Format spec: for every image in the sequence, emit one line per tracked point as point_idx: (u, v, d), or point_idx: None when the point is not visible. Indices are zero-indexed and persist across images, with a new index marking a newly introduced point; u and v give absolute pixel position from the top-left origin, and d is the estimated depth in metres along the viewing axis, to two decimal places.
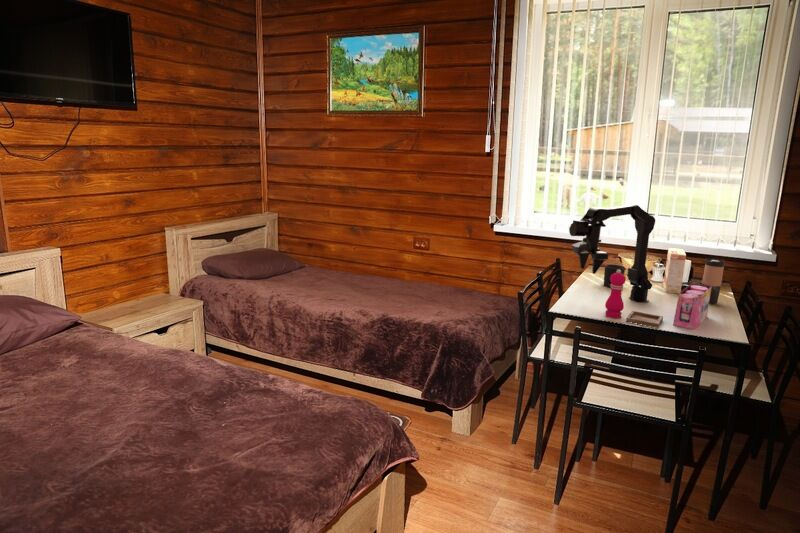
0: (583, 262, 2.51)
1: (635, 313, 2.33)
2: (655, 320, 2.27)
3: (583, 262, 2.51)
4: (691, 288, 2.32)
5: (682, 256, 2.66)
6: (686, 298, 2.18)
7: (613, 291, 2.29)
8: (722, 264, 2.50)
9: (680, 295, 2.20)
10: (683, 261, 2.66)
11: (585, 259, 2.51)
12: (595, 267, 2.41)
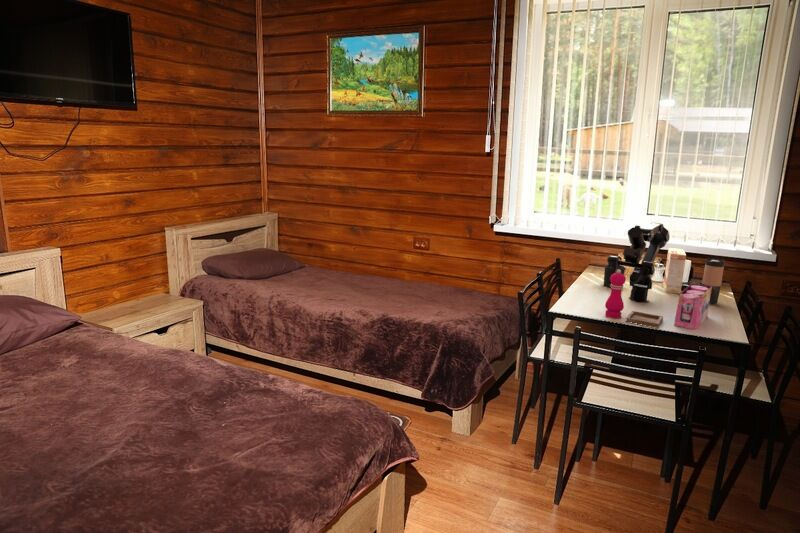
0: None
1: (635, 313, 2.33)
2: (655, 320, 2.27)
3: None
4: (691, 288, 2.32)
5: (682, 256, 2.66)
6: (687, 298, 2.18)
7: (613, 291, 2.29)
8: (722, 264, 2.50)
9: (681, 295, 2.20)
10: (683, 261, 2.66)
11: (616, 272, 2.41)
12: (640, 277, 2.34)
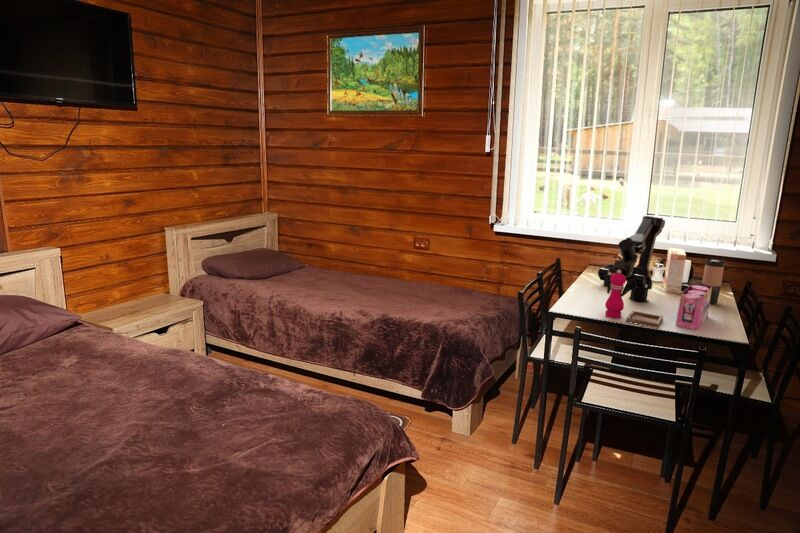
0: (609, 288, 2.33)
1: (635, 313, 2.33)
2: (655, 320, 2.27)
3: (610, 287, 2.32)
4: (692, 288, 2.32)
5: (682, 256, 2.66)
6: (689, 298, 2.17)
7: (613, 291, 2.29)
8: (722, 264, 2.50)
9: (683, 295, 2.19)
10: (683, 261, 2.66)
11: None
12: (626, 290, 2.28)
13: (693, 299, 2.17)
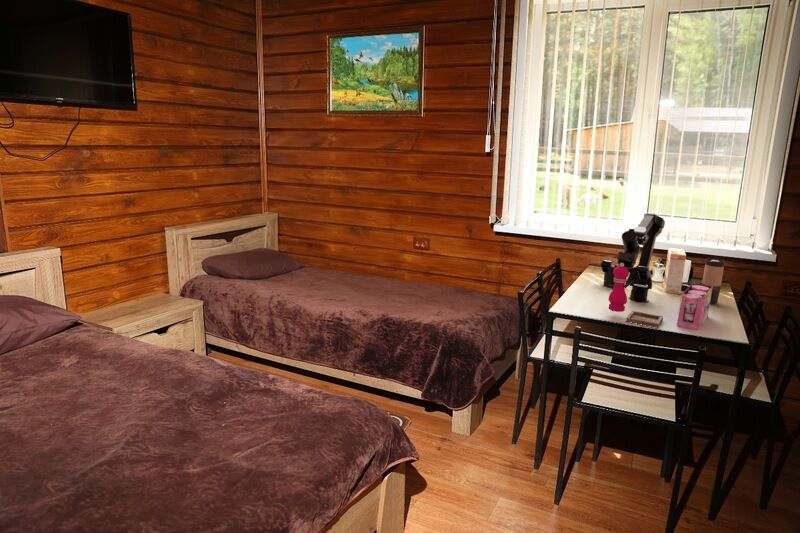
0: (613, 280, 2.31)
1: (635, 313, 2.33)
2: (655, 320, 2.27)
3: None
4: (693, 288, 2.32)
5: (682, 256, 2.66)
6: (690, 298, 2.17)
7: (616, 285, 2.28)
8: (722, 264, 2.50)
9: (684, 295, 2.19)
10: (683, 261, 2.66)
11: None
12: (629, 281, 2.27)
13: (694, 299, 2.17)
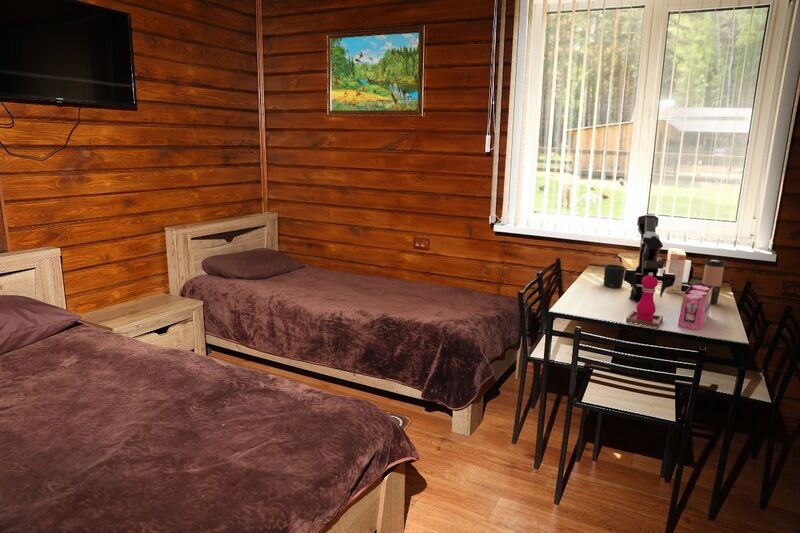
0: None
1: (635, 313, 2.33)
2: (655, 320, 2.27)
3: None
4: (693, 288, 2.32)
5: (682, 256, 2.66)
6: (691, 299, 2.17)
7: (647, 295, 2.23)
8: (722, 264, 2.50)
9: (685, 296, 2.19)
10: (683, 261, 2.66)
11: None
12: None
13: (695, 299, 2.17)
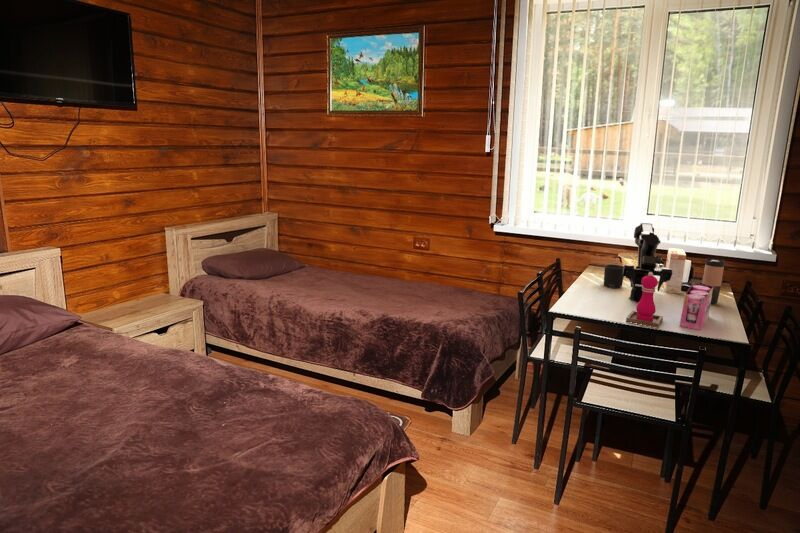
0: None
1: (635, 313, 2.33)
2: (655, 320, 2.27)
3: (634, 282, 2.35)
4: (694, 288, 2.32)
5: (682, 256, 2.66)
6: (693, 299, 2.17)
7: (647, 295, 2.23)
8: (722, 264, 2.50)
9: (687, 296, 2.19)
10: (683, 261, 2.66)
11: None
12: (661, 284, 2.31)
13: (697, 299, 2.16)
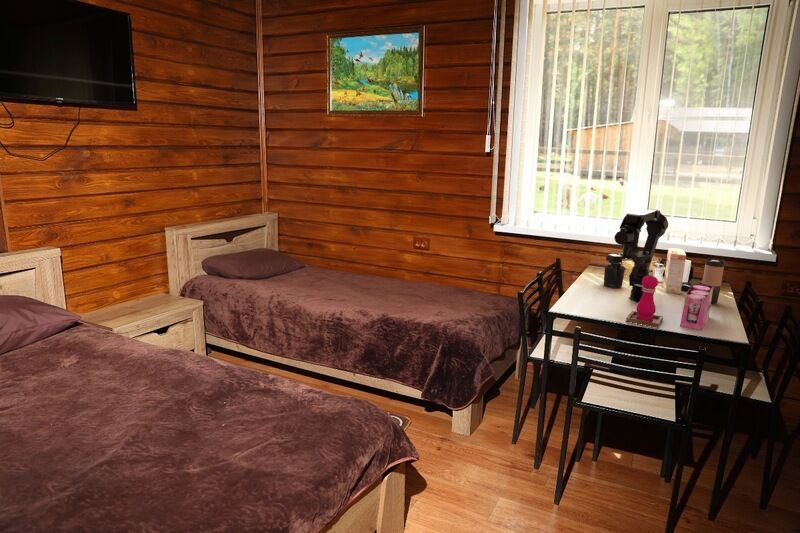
0: None
1: (635, 313, 2.33)
2: (655, 320, 2.27)
3: None
4: (694, 288, 2.32)
5: (682, 256, 2.66)
6: (694, 299, 2.17)
7: (647, 295, 2.23)
8: (722, 264, 2.50)
9: (687, 296, 2.19)
10: (683, 261, 2.66)
11: None
12: None
13: (698, 299, 2.16)
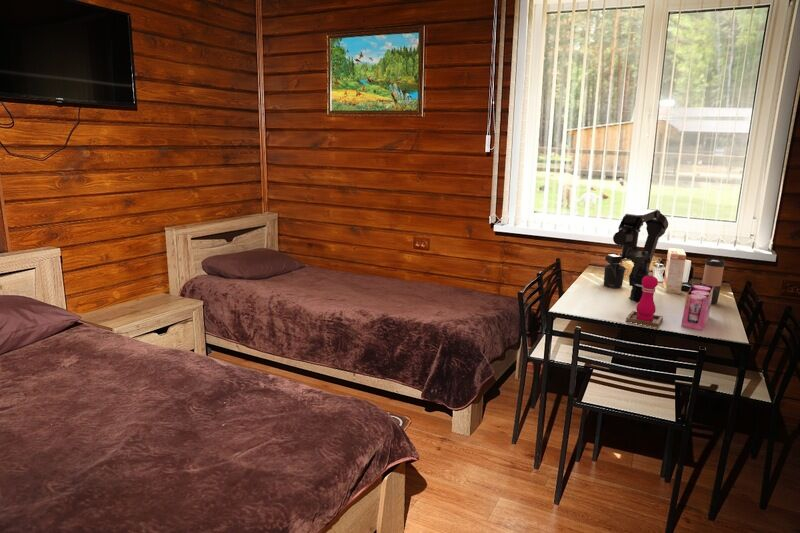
0: None
1: (635, 313, 2.33)
2: (655, 320, 2.27)
3: None
4: (694, 288, 2.32)
5: (682, 256, 2.66)
6: (695, 299, 2.17)
7: (647, 295, 2.23)
8: (722, 264, 2.50)
9: (688, 296, 2.19)
10: (683, 261, 2.66)
11: None
12: None
13: (699, 300, 2.16)
